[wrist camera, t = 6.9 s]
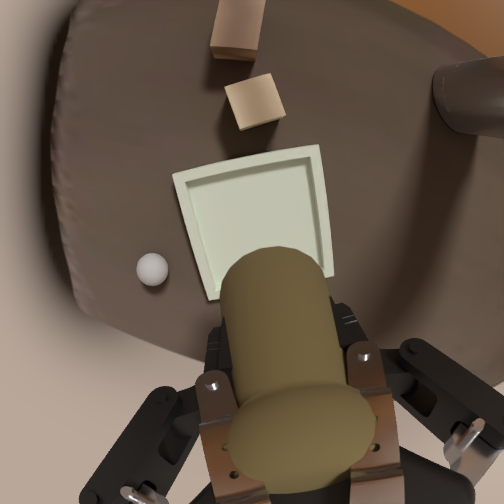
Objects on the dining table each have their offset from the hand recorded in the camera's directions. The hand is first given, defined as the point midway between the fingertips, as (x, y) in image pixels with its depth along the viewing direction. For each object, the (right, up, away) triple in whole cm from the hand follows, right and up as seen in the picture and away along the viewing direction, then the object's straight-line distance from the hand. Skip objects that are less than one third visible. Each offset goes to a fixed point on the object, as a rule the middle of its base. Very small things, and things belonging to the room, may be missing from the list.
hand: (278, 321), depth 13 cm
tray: (-1, +6, +15) cm, 17 cm away
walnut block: (-3, +25, +8) cm, 26 cm away
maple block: (-1, +17, +11) cm, 20 cm away
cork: (0, +1, +2) cm, 3 cm away
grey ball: (-12, +2, +15) cm, 19 cm away
